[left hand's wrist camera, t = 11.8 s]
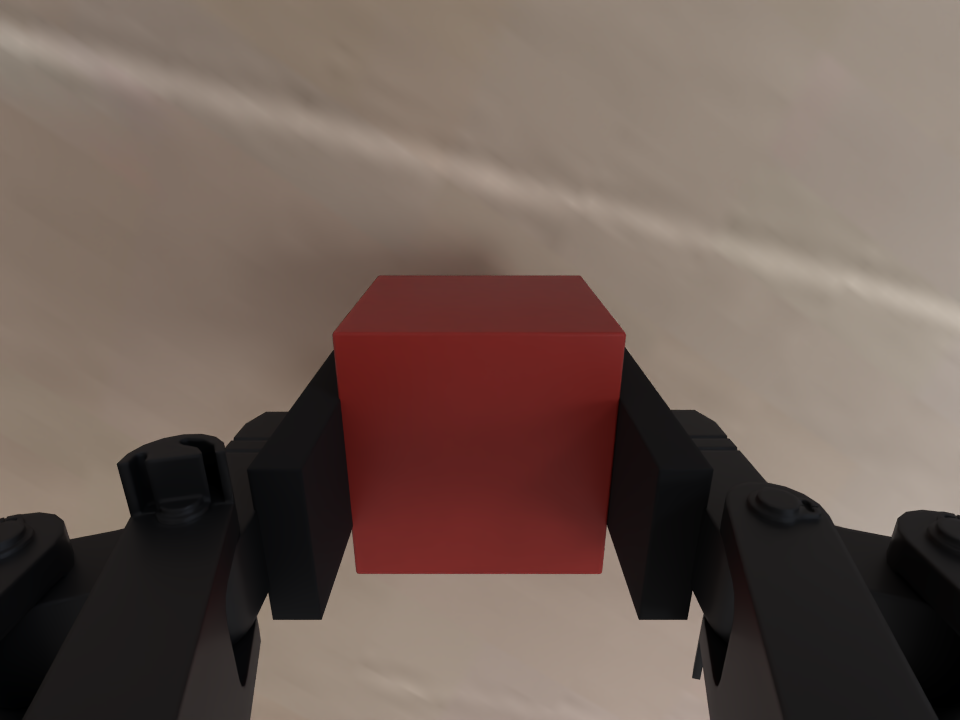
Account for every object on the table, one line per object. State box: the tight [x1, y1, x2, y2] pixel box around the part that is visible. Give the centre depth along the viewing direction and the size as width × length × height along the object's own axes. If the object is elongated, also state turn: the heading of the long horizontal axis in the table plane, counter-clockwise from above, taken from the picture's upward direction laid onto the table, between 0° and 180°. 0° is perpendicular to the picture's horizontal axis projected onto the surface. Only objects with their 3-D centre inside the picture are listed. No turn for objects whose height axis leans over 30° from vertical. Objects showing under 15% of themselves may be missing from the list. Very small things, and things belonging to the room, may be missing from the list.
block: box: [333, 276, 626, 574], centre depth 12 cm, size 5×5×4 cm
